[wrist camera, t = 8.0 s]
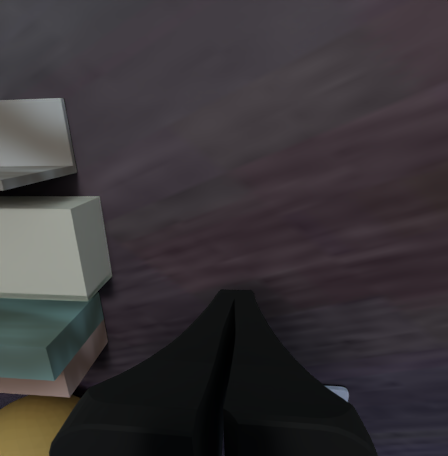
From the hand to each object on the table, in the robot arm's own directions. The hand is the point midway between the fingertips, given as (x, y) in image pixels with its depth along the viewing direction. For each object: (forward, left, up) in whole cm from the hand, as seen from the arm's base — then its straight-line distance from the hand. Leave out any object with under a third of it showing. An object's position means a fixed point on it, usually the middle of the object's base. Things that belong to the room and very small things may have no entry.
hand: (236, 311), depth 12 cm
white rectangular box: (0, +14, -8) cm, 16 cm away
